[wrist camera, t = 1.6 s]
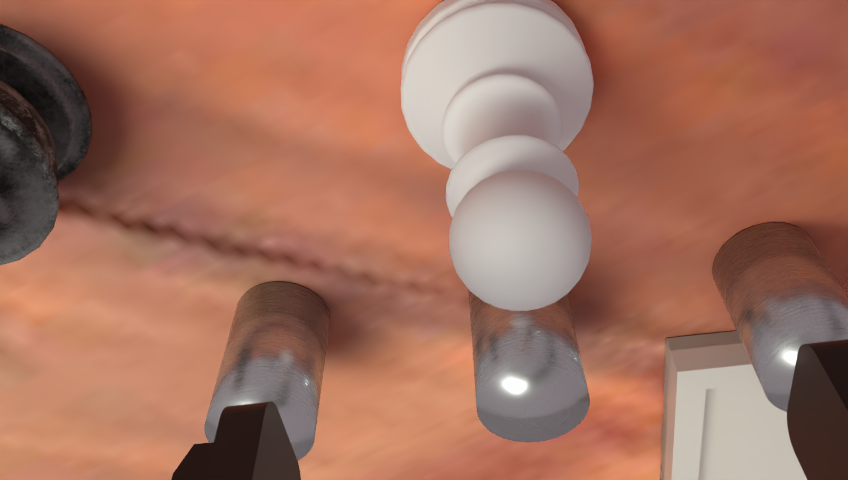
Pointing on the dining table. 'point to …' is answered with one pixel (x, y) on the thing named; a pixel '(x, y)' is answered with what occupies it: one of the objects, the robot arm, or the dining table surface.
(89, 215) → the dining table surface
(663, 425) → the square tray
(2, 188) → the grey chess piece
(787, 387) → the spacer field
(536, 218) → the chess pawn
